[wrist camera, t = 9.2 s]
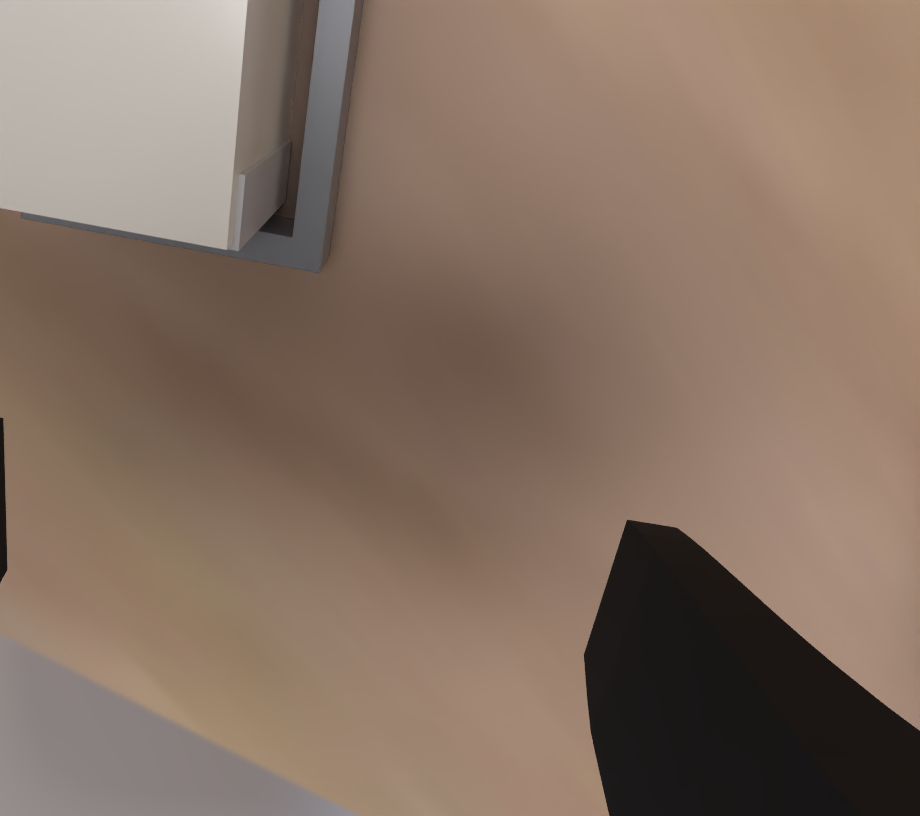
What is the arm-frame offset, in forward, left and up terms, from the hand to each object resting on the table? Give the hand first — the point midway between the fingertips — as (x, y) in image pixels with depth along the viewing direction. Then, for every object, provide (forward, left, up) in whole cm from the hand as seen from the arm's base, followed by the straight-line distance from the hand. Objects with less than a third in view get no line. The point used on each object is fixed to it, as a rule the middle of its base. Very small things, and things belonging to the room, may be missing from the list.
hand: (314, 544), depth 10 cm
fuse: (-4, +6, -10) cm, 12 cm away
